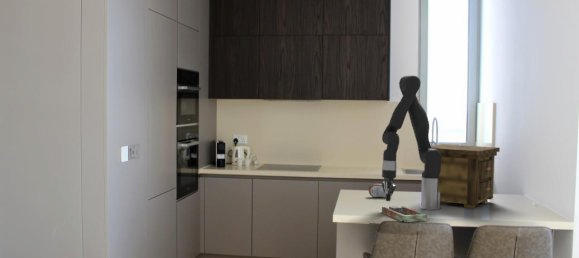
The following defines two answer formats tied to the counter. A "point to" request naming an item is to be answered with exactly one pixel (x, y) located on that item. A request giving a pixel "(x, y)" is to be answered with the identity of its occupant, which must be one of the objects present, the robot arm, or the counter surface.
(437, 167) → the robot arm
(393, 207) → the block
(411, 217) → the track
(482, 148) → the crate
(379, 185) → the tin
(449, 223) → the counter surface
